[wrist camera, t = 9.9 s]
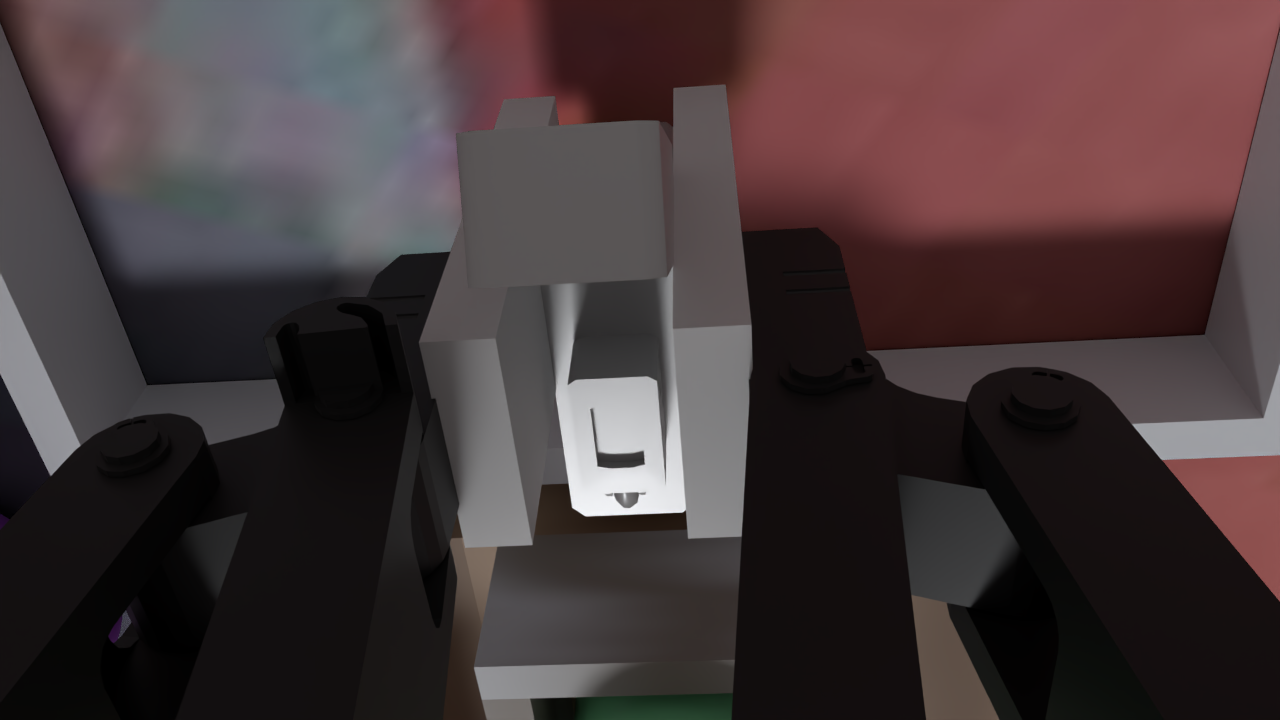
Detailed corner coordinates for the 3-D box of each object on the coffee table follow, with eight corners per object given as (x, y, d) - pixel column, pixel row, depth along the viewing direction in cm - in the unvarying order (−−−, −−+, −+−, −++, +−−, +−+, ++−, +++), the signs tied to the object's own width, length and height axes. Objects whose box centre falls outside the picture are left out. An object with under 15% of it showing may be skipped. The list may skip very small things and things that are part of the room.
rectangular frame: (121, 419, 22) (64, 504, 20) (-160, -233, 16) (-287, -206, 14) (1240, 368, 21) (1301, 453, 19) (1444, -377, 14) (1574, -373, 12)
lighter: (691, 346, 19) (700, 731, 13) (592, 351, 19) (549, 734, 13) (665, -83, 15) (656, 145, 9) (540, -74, 15) (439, 159, 9)
